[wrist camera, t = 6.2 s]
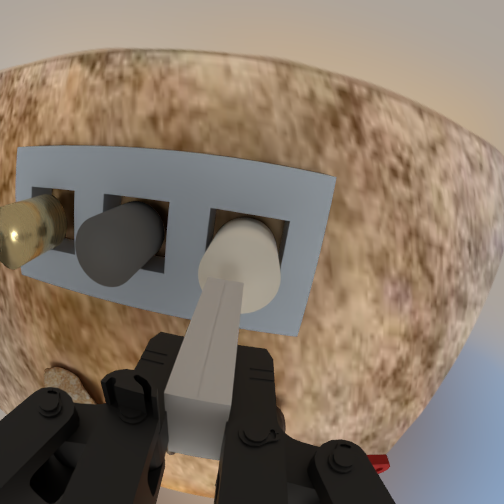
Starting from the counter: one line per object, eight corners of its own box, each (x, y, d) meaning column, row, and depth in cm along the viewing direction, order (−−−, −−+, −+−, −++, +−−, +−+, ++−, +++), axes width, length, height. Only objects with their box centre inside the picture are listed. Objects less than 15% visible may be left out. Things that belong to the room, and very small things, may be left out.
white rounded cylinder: (209, 272, 21) (194, 306, 16) (217, 212, 19) (202, 231, 14) (270, 282, 21) (272, 319, 16) (282, 223, 19) (288, 245, 15)
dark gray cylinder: (111, 253, 20) (77, 279, 16) (113, 198, 19) (74, 211, 14) (162, 263, 21) (136, 293, 16) (167, 205, 19) (138, 220, 14)
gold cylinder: (32, 243, 19) (-6, 262, 14) (30, 192, 18) (-12, 204, 13) (67, 251, 19) (28, 275, 14) (66, 196, 18) (23, 209, 13)
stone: (71, 407, 32) (57, 426, 28) (48, 358, 28) (28, 379, 24) (116, 428, 31) (102, 451, 27) (96, 381, 27) (76, 406, 23)
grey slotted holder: (39, 263, 24) (21, 274, 21) (38, 146, 20) (17, 147, 17) (293, 316, 24) (297, 336, 21) (326, 174, 20) (336, 177, 17)
